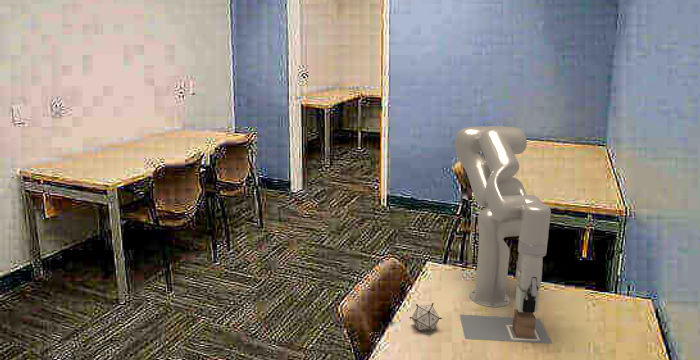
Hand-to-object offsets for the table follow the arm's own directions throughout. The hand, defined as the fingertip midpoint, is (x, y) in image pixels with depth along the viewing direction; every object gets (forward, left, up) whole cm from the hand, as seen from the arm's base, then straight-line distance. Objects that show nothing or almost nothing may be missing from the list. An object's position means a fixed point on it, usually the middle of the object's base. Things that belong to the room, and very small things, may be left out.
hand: (526, 306), depth 163 cm
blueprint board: (-2, -5, -9) cm, 11 cm away
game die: (0, -28, -10) cm, 30 cm away
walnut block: (0, 0, -8) cm, 8 cm away
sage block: (0, 0, 0) cm, 0 cm away
